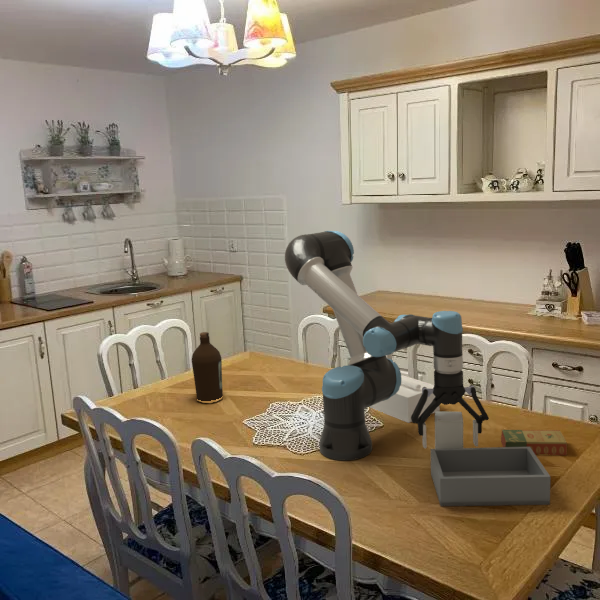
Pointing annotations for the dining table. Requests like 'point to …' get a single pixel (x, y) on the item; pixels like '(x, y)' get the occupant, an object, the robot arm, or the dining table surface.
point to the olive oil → (207, 370)
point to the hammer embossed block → (405, 400)
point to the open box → (489, 477)
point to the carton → (536, 441)
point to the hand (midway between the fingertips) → (450, 445)
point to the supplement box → (448, 430)
